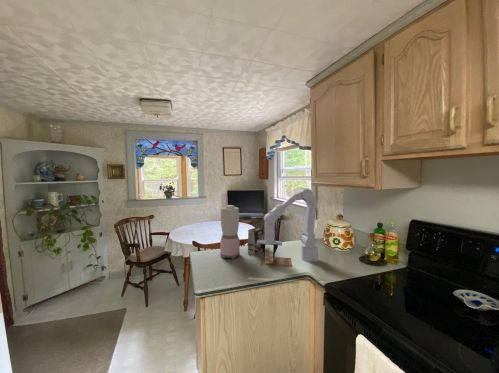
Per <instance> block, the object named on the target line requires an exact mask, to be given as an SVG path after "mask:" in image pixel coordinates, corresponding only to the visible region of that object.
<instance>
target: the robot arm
mask: <svg viewBox="0 0 499 373" xmlns="http://www.w3.org/2000/svg"><path fill="white" fill-rule="evenodd" d="M296 201H303V202H305V204H306V208H305V219H304V227H303V228H304V229H303V230H302V233H301V235H300V237H299V239H300V242H301V260H302V261H304V262H319V248H318V246H316V245H317V240H316V234H315V232H314V228H315V220H316V217H315V216H316V208H317V200H316V197H315V194H314V192H313V191H312V190H311V189H309V188H304V187H298V188H297V190H294V192H293V193H292V194H291V195H290V196H289V197H287V198H286V200H284V202H282V203H281V204H276V205H275V206H274V208H272V209H271V210H269V211H268V212H267V213H266V214H264V216H263V220H264V239H263V240H260V241H257V245H259V244H261V248H262V250H263V251H262V252H263V257H265V248H266V246H273V247H272V248H273V258H274V257H275V254H276V252H277V249H278V247H279V246H280V247H282V246H283V241H282V240H281V241H280V240H275V224H276V222H277V219H279V218H280V217H281V216H283V214H284V213H285V212H286V209H288V207H290V206H291V205H293V203H295V202H296Z"/></svg>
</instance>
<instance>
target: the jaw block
mask: <svg viewBox="0 0 499 373" xmlns="http://www.w3.org/2000/svg"><path fill="white" fill-rule="evenodd" d="M265 263H268V264H273V247H265Z"/></svg>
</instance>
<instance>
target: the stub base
mask: <svg viewBox="0 0 499 373" xmlns="http://www.w3.org/2000/svg"><path fill="white" fill-rule="evenodd" d="M291 258H292V257H285V256H284V257H282V256H281V257H280V256H279V257H278V256H274V258H273V264H268V263H265V257H264V255H263V256H260V262H259V263H260V264H259V266H262V267H279V268H284V267H285V268H293V263H292V259H291Z"/></svg>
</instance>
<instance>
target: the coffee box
mask: <svg viewBox="0 0 499 373" xmlns="http://www.w3.org/2000/svg"><path fill="white" fill-rule="evenodd" d="M247 232H248V233H247V254H248V255H250V256H252V255H255V256H256V255H259V254H260V253H262V252H263V250H262V248H261V244H259V245H257V241H260V240H264V228H262V227H254V228H249V229H248V230H247Z"/></svg>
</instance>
